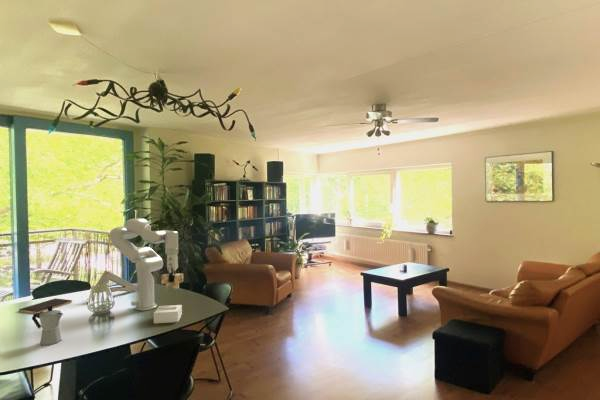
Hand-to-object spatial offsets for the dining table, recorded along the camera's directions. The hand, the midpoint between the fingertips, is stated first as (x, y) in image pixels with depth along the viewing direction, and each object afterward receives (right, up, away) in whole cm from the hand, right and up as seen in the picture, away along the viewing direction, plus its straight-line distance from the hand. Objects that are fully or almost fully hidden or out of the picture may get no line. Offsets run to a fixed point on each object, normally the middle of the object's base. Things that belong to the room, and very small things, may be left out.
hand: (172, 280), depth 214 cm
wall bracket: (-54, -20, +35) cm, 67 cm away
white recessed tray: (+2, -20, -12) cm, 23 cm away
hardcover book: (-86, -21, +12) cm, 89 cm away
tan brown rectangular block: (0, -5, 0) cm, 5 cm away
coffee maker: (-45, -21, -42) cm, 66 cm away
